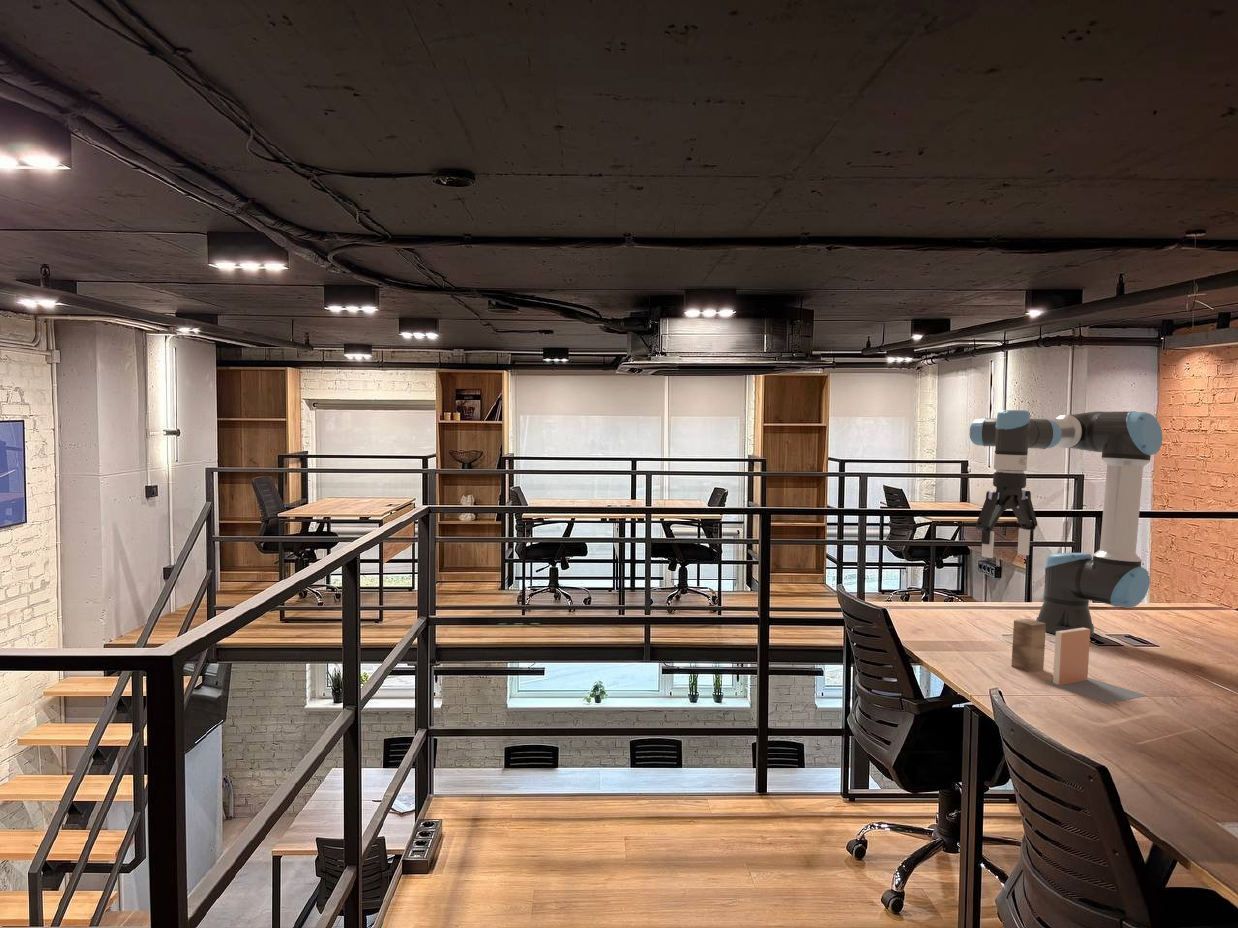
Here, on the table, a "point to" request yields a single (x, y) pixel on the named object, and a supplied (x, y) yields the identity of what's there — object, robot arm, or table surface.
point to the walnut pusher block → (1028, 645)
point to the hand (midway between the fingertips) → (1005, 556)
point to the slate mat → (1099, 691)
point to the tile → (1071, 656)
